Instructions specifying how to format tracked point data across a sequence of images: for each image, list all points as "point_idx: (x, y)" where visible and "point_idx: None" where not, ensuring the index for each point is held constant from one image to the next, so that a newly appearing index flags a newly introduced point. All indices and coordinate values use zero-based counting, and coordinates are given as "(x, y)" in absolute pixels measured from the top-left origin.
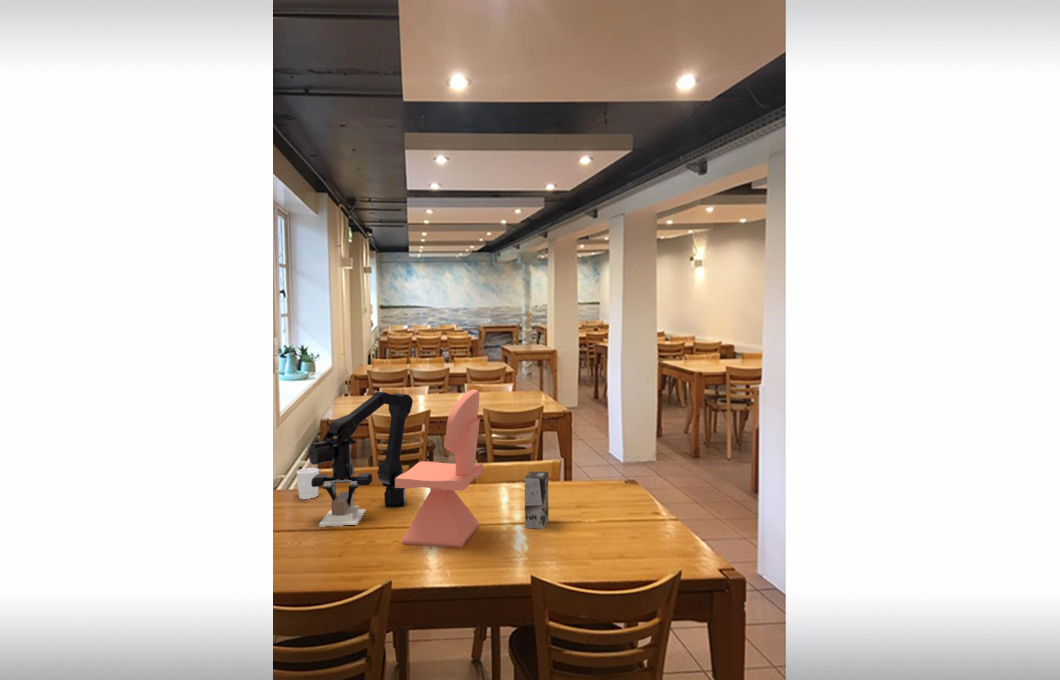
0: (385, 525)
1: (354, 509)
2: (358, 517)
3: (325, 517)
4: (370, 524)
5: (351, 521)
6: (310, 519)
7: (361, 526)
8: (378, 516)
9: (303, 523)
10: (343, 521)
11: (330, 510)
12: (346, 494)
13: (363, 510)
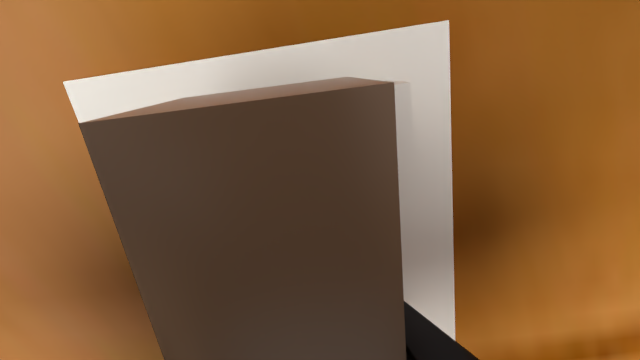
0: (628, 312)
1: None
2: (439, 262)
3: None
4: (530, 307)
5: None
6: (18, 262)
7: (477, 344)
8: (569, 140)
9: (32, 344)
10: None
11: (72, 91)
12: (318, 312)
13: (436, 66)
